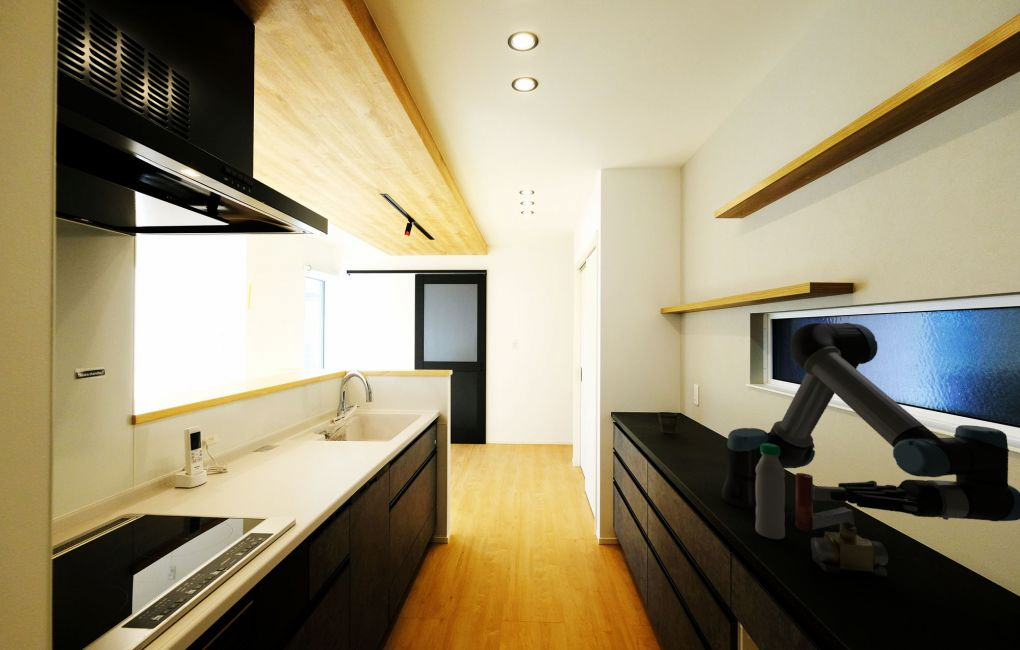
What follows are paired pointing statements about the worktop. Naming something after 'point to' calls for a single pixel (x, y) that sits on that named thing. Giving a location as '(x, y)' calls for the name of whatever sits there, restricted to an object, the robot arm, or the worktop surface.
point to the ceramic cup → (668, 421)
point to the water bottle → (770, 493)
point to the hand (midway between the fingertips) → (812, 492)
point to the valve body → (849, 552)
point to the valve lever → (821, 519)
